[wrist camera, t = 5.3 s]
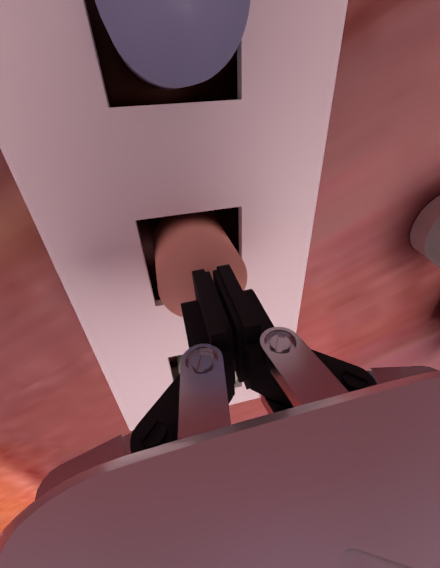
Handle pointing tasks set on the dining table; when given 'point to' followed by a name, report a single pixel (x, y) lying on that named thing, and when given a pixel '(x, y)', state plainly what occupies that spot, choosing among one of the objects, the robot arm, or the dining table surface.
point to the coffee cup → (428, 232)
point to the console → (165, 172)
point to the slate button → (174, 37)
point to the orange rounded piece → (191, 255)
